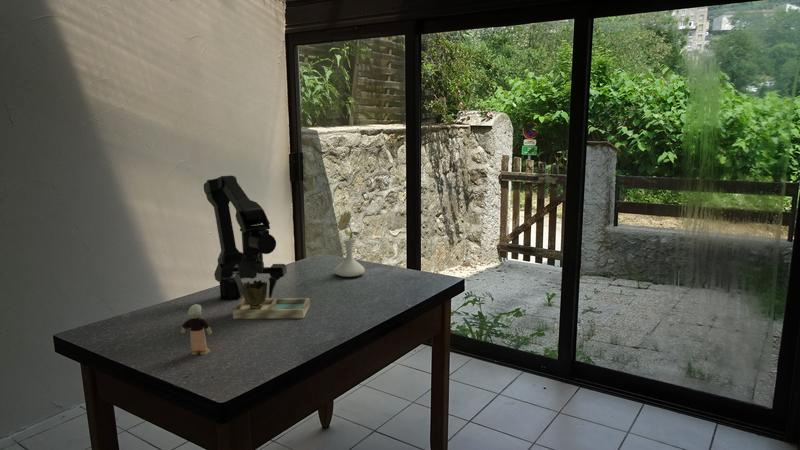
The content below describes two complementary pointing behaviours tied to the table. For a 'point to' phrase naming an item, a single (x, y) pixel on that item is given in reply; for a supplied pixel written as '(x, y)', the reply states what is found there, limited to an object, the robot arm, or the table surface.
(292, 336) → the table surface
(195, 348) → the grandmother figurine
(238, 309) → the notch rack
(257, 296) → the cup
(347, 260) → the flower in vase
